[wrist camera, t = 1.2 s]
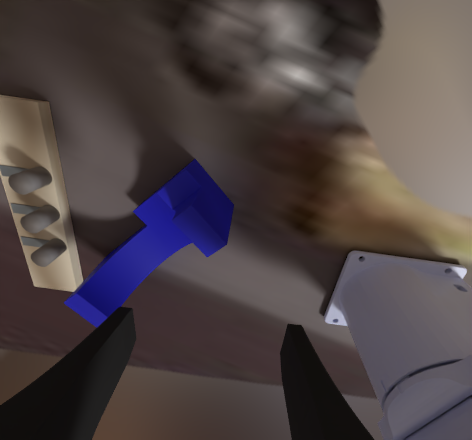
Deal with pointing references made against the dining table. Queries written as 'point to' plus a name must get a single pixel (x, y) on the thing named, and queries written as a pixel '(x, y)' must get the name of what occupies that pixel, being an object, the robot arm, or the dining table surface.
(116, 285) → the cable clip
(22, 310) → the dining table surface
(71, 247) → the coat hook rack
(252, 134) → the dining table surface
